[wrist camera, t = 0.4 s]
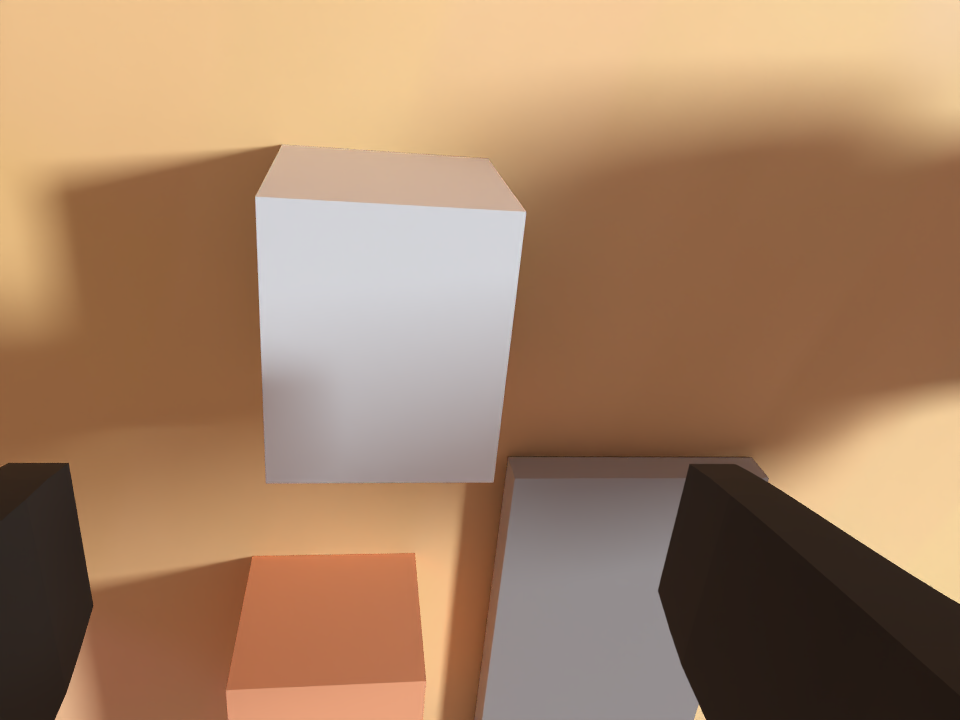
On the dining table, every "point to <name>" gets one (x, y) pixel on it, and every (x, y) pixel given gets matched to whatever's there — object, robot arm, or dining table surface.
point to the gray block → (585, 591)
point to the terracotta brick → (329, 640)
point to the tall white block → (384, 315)
